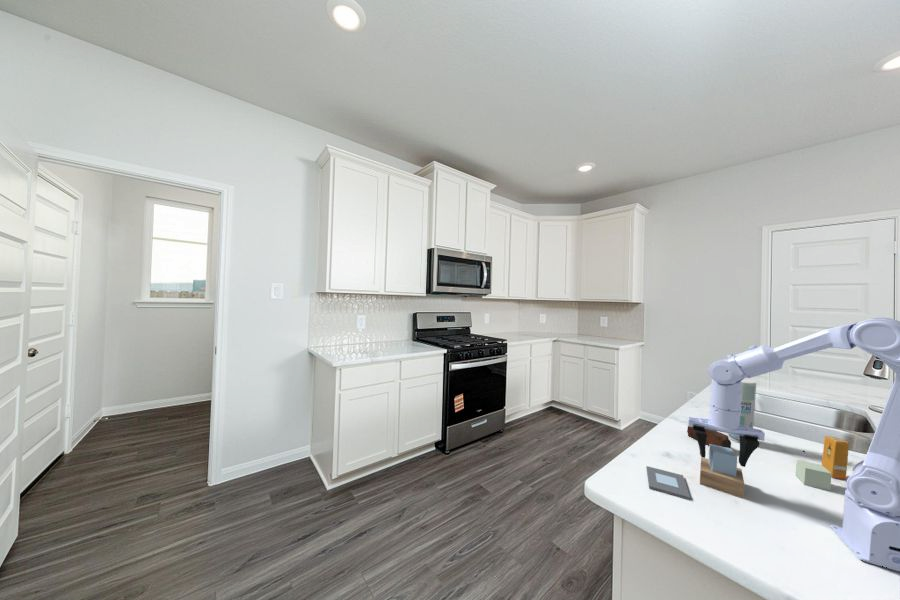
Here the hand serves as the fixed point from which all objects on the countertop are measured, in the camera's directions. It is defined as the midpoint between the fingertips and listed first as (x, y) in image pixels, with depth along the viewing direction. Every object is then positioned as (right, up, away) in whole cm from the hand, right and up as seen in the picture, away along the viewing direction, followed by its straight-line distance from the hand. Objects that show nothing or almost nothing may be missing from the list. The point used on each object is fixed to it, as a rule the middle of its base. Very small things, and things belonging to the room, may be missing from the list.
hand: (721, 460), depth 78 cm
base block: (0, -6, 0) cm, 6 cm away
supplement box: (+35, -7, +5) cm, 36 cm away
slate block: (0, -2, 0) cm, 2 cm away
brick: (+14, -6, +21) cm, 26 cm away
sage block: (+25, -7, +1) cm, 25 cm away
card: (-14, -6, 0) cm, 15 cm away
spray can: (+27, -6, +24) cm, 37 cm away
